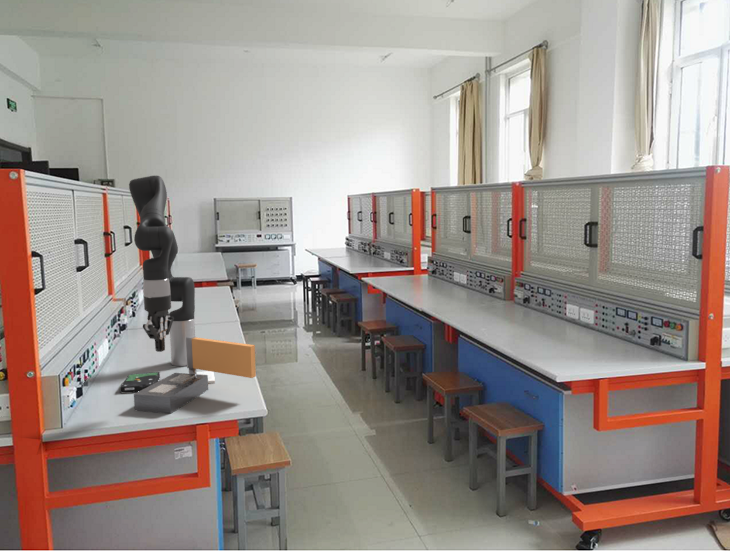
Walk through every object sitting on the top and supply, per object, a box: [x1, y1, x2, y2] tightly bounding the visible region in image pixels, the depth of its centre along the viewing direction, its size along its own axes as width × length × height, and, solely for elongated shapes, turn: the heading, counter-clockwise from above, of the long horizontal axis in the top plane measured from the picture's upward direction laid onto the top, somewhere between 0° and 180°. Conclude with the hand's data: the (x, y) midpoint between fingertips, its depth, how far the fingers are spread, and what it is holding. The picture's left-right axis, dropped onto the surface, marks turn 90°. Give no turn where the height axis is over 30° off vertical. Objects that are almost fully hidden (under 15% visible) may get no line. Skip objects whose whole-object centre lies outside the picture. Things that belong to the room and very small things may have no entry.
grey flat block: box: [133, 372, 209, 415], centre depth 180 cm, size 22×12×5 cm, turn 166°
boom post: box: [188, 368, 197, 374], centre depth 192 cm, size 2×2×7 cm
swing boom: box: [186, 336, 257, 379], centre depth 185 cm, size 27×3×10 cm, turn 62°
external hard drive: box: [196, 370, 216, 384], centre depth 201 cm, size 2×8×12 cm
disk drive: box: [119, 371, 161, 393], centre depth 195 cm, size 10×3×15 cm
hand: (160, 351), depth 173 cm, fingers closed
